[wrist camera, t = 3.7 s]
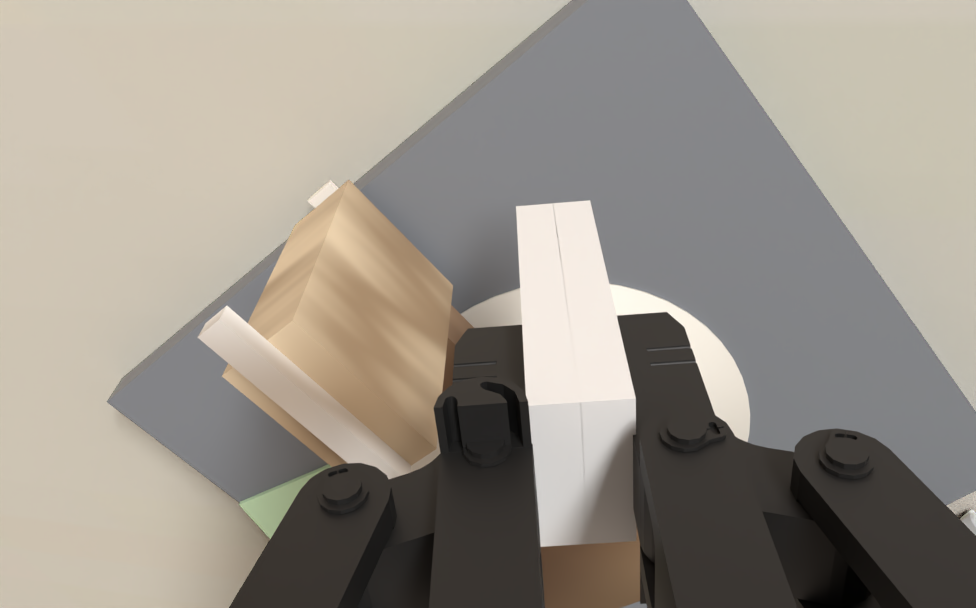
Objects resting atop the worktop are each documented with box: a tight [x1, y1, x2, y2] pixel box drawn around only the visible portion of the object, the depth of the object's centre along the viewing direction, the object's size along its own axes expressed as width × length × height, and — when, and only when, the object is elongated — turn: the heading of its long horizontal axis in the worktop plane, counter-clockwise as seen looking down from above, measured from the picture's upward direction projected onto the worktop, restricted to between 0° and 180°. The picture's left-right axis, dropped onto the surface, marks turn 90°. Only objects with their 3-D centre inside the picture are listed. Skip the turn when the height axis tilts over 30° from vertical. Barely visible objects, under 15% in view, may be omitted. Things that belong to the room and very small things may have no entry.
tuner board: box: [107, 0, 976, 608], centre depth 27 cm, size 21×21×1 cm
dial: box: [198, 180, 640, 608], centre depth 22 cm, size 15×7×8 cm, turn 40°
